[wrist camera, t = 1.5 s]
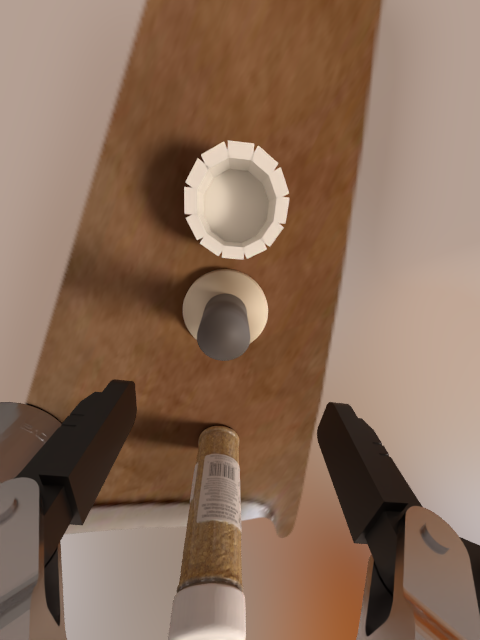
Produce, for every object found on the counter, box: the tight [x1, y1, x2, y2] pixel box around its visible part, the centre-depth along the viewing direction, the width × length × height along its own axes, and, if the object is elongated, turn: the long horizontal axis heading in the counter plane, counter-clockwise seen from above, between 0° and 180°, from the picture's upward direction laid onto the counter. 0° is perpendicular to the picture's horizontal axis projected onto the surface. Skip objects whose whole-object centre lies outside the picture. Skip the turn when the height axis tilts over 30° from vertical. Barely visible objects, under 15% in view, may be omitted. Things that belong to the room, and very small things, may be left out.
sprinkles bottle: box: [168, 426, 246, 640], centre depth 19 cm, size 5×5×14 cm
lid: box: [183, 269, 268, 361], centre depth 17 cm, size 7×7×5 cm
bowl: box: [184, 141, 289, 259], centre depth 14 cm, size 6×6×4 cm
